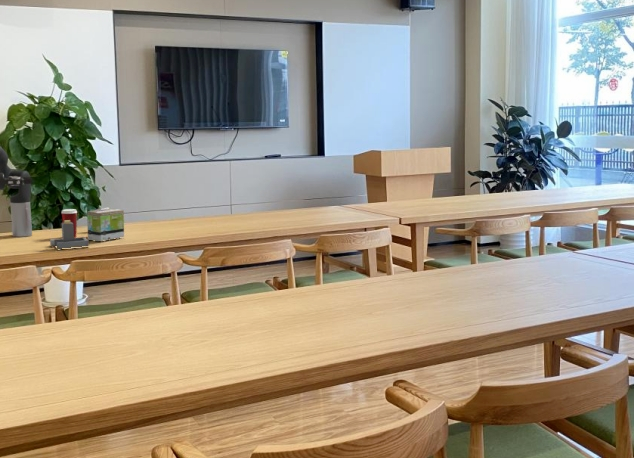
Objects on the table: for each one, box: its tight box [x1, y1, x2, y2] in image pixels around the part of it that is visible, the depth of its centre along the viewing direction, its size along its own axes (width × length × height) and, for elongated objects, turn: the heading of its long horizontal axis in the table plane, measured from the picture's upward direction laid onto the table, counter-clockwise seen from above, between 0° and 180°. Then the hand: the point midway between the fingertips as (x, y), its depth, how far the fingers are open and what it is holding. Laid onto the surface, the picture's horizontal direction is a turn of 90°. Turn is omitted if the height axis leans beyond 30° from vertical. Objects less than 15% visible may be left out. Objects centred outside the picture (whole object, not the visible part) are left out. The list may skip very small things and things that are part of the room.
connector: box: [61, 220, 74, 242], centre depth 317 cm, size 4×4×12 cm
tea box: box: [86, 208, 125, 242], centre depth 339 cm, size 15×10×15 cm, turn 148°
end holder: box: [53, 236, 90, 250], centre depth 319 cm, size 10×14×4 cm
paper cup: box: [60, 208, 78, 238], centre depth 344 cm, size 8×8×14 cm
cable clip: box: [49, 238, 55, 247], centre depth 322 cm, size 3×4×3 cm
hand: (32, 180), depth 307 cm, fingers open, 8 cm apart
